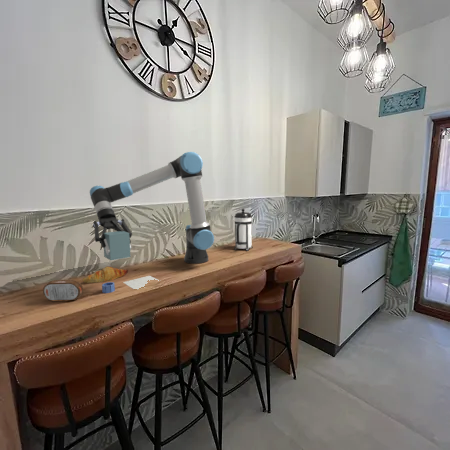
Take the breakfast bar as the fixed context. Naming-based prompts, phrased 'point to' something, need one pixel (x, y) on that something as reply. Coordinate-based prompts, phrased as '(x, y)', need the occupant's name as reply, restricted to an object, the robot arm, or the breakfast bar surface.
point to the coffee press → (243, 230)
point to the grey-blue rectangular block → (117, 245)
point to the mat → (139, 282)
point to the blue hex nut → (108, 287)
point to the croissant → (105, 275)
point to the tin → (63, 290)
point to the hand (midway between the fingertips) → (119, 251)
